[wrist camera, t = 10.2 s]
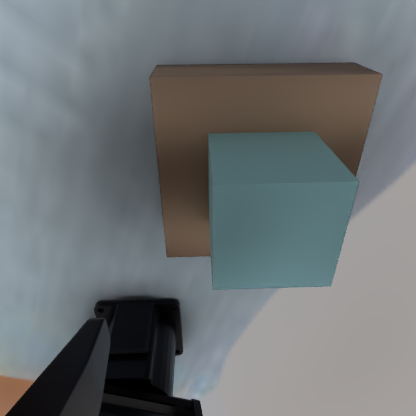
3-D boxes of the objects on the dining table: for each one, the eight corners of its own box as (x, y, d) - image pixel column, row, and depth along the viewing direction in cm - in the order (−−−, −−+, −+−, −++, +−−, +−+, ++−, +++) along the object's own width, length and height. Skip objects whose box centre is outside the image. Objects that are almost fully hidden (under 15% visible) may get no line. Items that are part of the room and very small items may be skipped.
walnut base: (319, 223, 22) (335, 252, 20) (170, 227, 22) (166, 257, 19) (354, 62, 17) (382, 74, 14) (156, 65, 16) (149, 77, 14)
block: (299, 219, 18) (330, 286, 14) (208, 221, 18) (212, 289, 14) (314, 131, 15) (359, 181, 11) (208, 133, 15) (213, 184, 11)
